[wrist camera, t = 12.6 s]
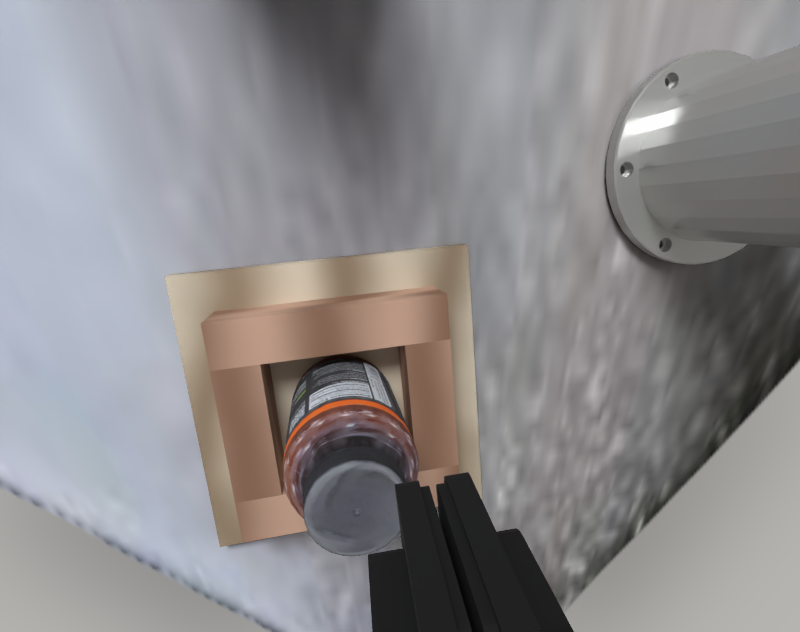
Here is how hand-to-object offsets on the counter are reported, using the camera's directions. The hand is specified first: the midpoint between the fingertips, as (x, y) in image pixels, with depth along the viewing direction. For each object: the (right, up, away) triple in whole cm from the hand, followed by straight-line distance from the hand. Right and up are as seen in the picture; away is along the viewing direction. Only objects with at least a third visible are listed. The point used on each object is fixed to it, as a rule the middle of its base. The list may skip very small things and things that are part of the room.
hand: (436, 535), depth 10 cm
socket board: (-5, 0, +19) cm, 19 cm away
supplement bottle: (-4, 0, +18) cm, 19 cm away
